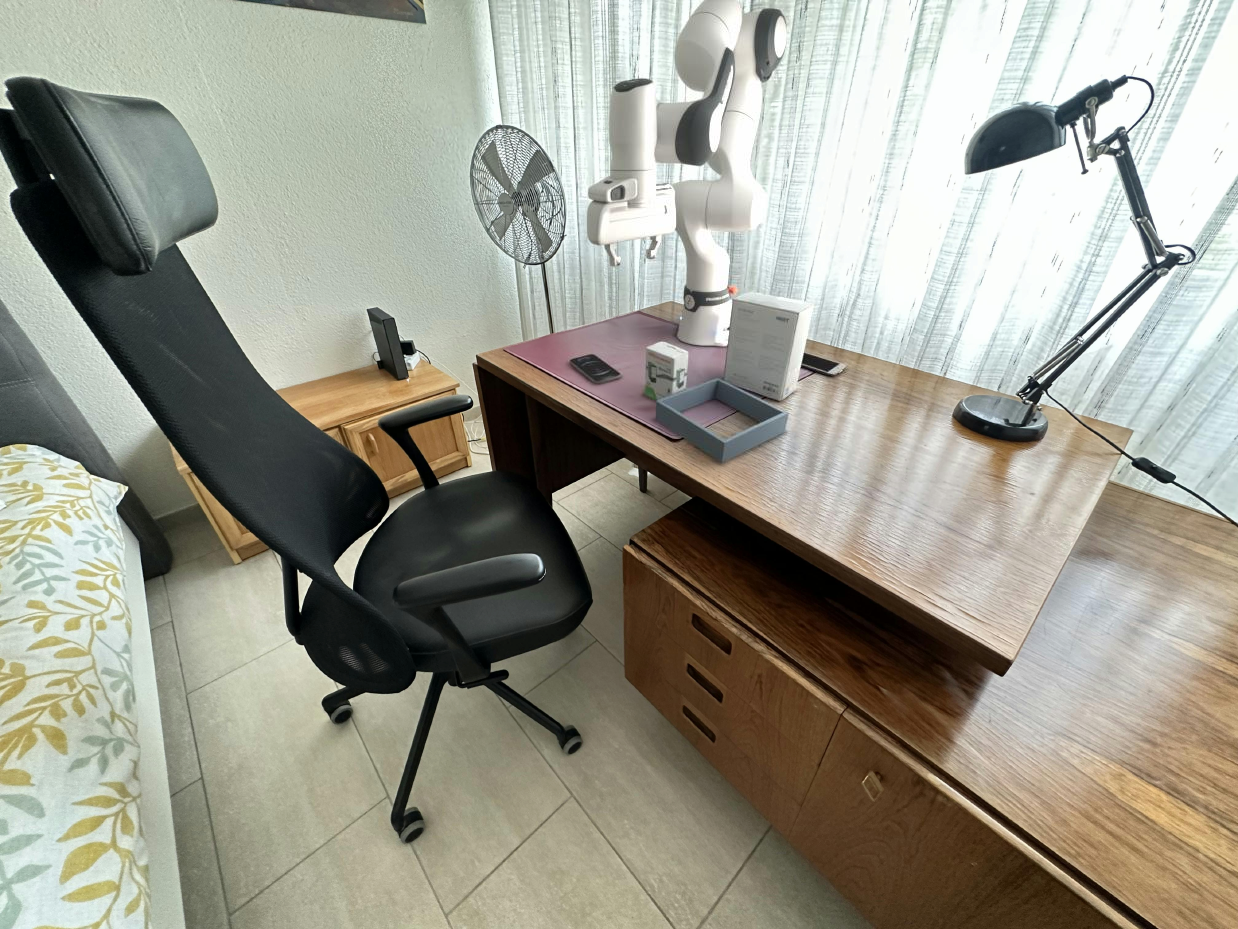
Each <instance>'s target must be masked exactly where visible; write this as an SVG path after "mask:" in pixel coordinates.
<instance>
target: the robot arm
mask: <svg viewBox="0 0 1238 929" xmlns="http://www.w3.org/2000/svg"><path fill="white" fill-rule="evenodd" d="M680 31H681V32H680V33H679V36H678V37H677V40H676V43H675V47H674V54H673V56H674V57H673V59H674V67H675V70H676V72H677V74H678V77H679V78H680V80H681V82H682V83H683V84H684V85H685V86H686V87H687V88H689V89H690V90H691V91H694V92H699V93H703V96H702V97H701V98H699V99H696V100H692V101H682V102H681V101H680V102H679V101H677V102H661V100H659V99H658V98H657V96H656V86H655V82H654V81H653V80H652V79H650V78H644V77H641V78H631V79H626V80H623V81H620V82H618V83H616V84H615V85H614V86H613V87H612V89H611V92H610V93H611V94H610V100H609V109H608V110H609V111H608V140H609V141H608V142H609V148H610V151H611V152H610V153H611V160H610V163H609V164H610V165H609V175H608V176H606V177H605V178H603V179H601V180H600V181H598V182H596V183H595V184H592V185H590V186H589V187H588V188H587V196H588V199H589V200H592V201H590V202H589V203H588V206H587V211H586V236H587V240H589V242H590V244H592V245H594V246H595V245H596V246H599V247H601V246H604V251H605V252H606V253H607V255H608V257H609V265H610V266H611V267H618V266H619V267H620V266H621V256H619V255H617V254H616V252H615V249H617V243H624V242H629V241H635V240H641V239H645V238H649V240H650V241H651V242H650V245H649V248H647V249H645V257H646V259H648V260H655V259H656V258H657V250H658V249H659V246H660V244H661V243H662V235H663V236H664V235H669V234H673V233H674V232H676V233H677V235H678V237H679V238H680V240H681V242H682V245H683V248H684V251H685V260H686V272H685V274H686V277H685V278H686V279H685V280H686V281H685V285H684V286H683V298H682V299H683V306H682V311H681V312H682V313H681V316H680V323H679V325H678V331H677V334H676V337H677V338H678V339H679V341H682V342H683V343H686V344H689V345H693V346H694V345H695V346H713V347H714V346H715V347H727V343H728V334H729V325H730V316H731V307H732V299H731V294H732V295H737V293H738V290H739V289H738V287H737V286H733V285H730V286H728V280H729V270H730V261H731V260H730V257H729V253H728V252H727V250H726V249H724V248H723V247H722V246H721V245H719V244H717V243H716V241H715V240H714V238H713V235H712V232H723V233H741V232H748V231H753V230H755V229H757V227H758V226H759V225H760V223H762V221H763V219H764V217H765V215H766V212H767V205H768V204H767V203H768V202H767V196H766V192H765V190H764V189H763V187H762V185H761V184H760V183H758V182H757V180H755V178H754V176H753V174H752V173H753V172H752V170H751V157H752V151H753V148H754V147H753V146H754V143H755V138H756V134H757V130H758V126H759V122H760V117H761V111H762V103H763V88H762V85H761V83H762V84H764V83H766V82H768V81H769V80H770V78H771V77H772V75H773V73H774V71H775V70H776V69H777V68H778V66H779V64H780V63H781V61H782V59H783V57H784V54H785V51H786V47H787V38H788V28H787V22H786V18H785V15H784V14H783V12H782V11H781V9H778V8H772V7H771V8H770V7H768V8H767V7H766V8H762V9H761V10H756V11H749V12H744V13H743V11H742V6H741V4H740V1H739V0H702V2H701V3H699V5H698V6H697V8H695V10H694V11H693V13H692V14H691V15H690V17H689V18H688V20H687V21H686V23H685V24H684V26H683V28H682V30H680ZM657 163H658V164H681V165H688V166H694V167H695V166H696V167H703V166H704V165H705V164H706V163H707V165H708V167H710V168H711V170H713V172H715V173H716V174H718V175H719V176H720V178H718V179H715V180H711V179H686V180H682V181H678V182H674V183H672V184H670V183H669V182H662V183H657Z"/></svg>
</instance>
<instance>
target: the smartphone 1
mask: <svg viewBox="0 0 1238 929" xmlns="http://www.w3.org/2000/svg"><path fill="white" fill-rule="evenodd" d="M569 364H570V365H572V367H574V368H575V369H576V370H577V371H579V373H581V374H582V375H583V376H585V377H586V378H587V379H588V380H590V381H591V382H592V383H593V384H596V385H600V384H604V383H607V382H610V381H614V380H618V379H620V378H621V372H620V371H618V370H617V369H615V368H614V367H612V366H611V364H608V363H607V362H606V361H605V360H603V359H601V358H600V357H599V356H597V355H596V354H594V353H590V354H584V355H581V356H578V357H574V358H571V359H569Z"/></svg>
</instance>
